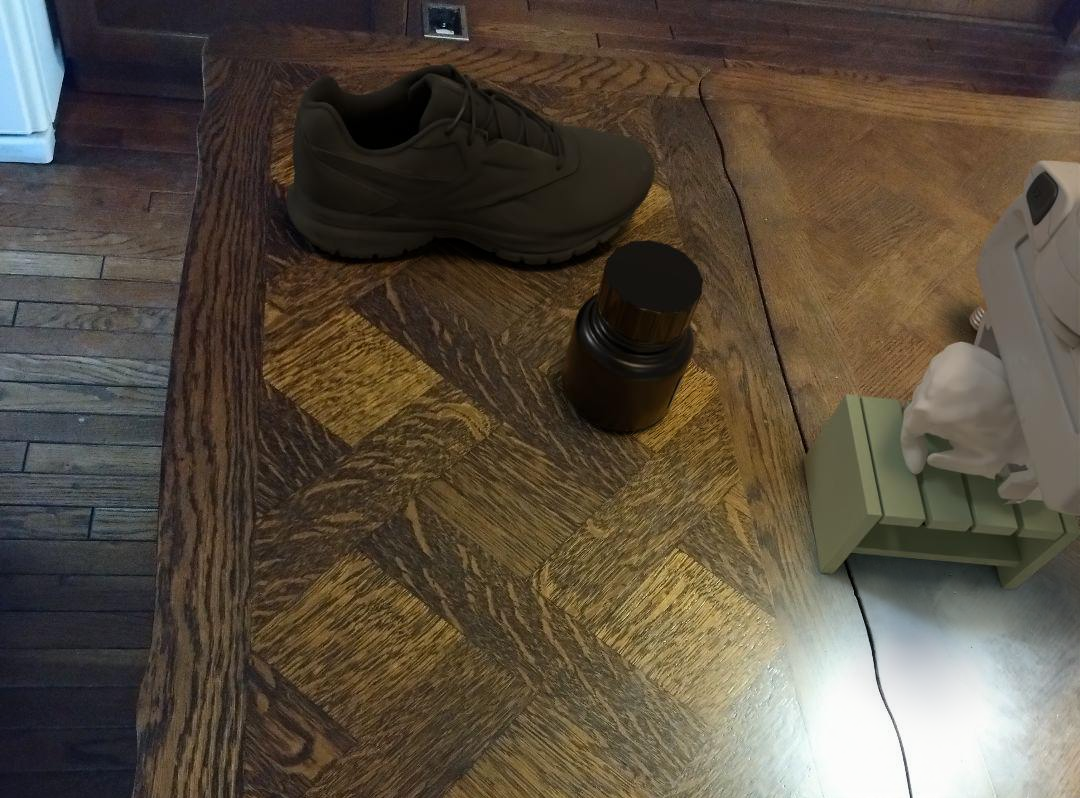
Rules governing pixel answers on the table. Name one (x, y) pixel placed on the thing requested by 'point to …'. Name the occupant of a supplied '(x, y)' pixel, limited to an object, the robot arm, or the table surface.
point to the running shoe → (455, 172)
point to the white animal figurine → (965, 416)
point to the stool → (917, 501)
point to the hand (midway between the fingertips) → (990, 429)
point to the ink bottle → (633, 337)
